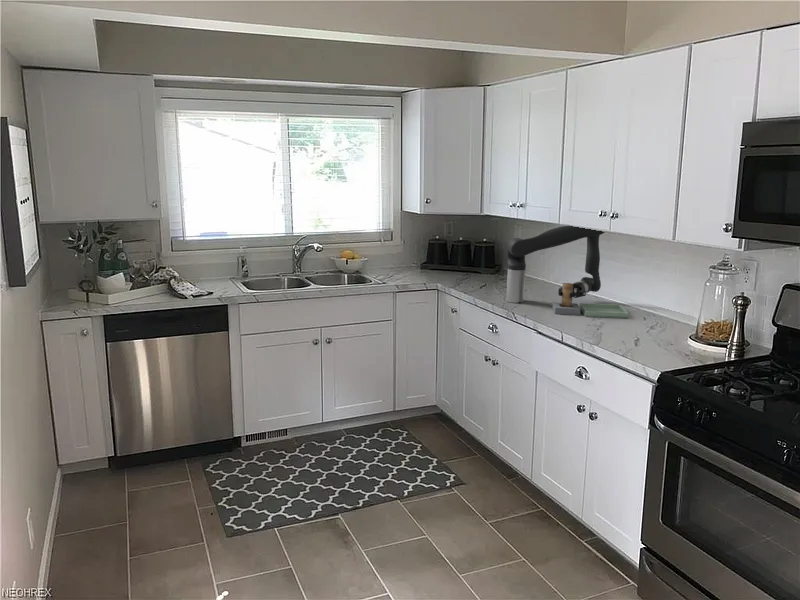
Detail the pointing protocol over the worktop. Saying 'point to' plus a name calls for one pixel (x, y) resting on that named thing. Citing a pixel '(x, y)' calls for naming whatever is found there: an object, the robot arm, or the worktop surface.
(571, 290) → the dowel
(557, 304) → the socket block
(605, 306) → the tray
